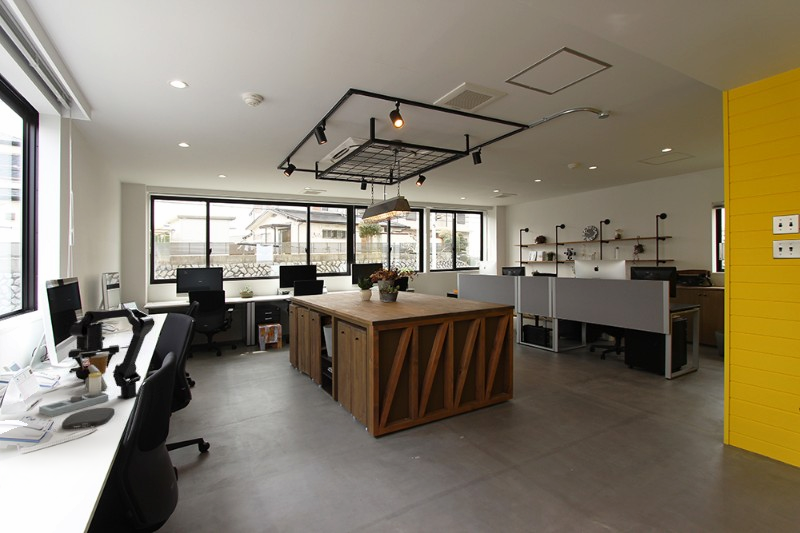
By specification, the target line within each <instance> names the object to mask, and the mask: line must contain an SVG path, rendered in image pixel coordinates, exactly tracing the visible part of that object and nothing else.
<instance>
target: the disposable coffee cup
mask: <svg viewBox="0 0 800 533" xmlns="http://www.w3.org/2000/svg"><path fill="white" fill-rule="evenodd" d="M108 353H109V352H100V353H96V356H93V357H91V365H96V366H97V369H98V370H99V371H100V372H101V373H102V374H105V373H106V371H107V370H106V369H107V366H106V365H107V358H108ZM88 358H89V360H90V357H88ZM89 364H90V362H89Z"/></svg>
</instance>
